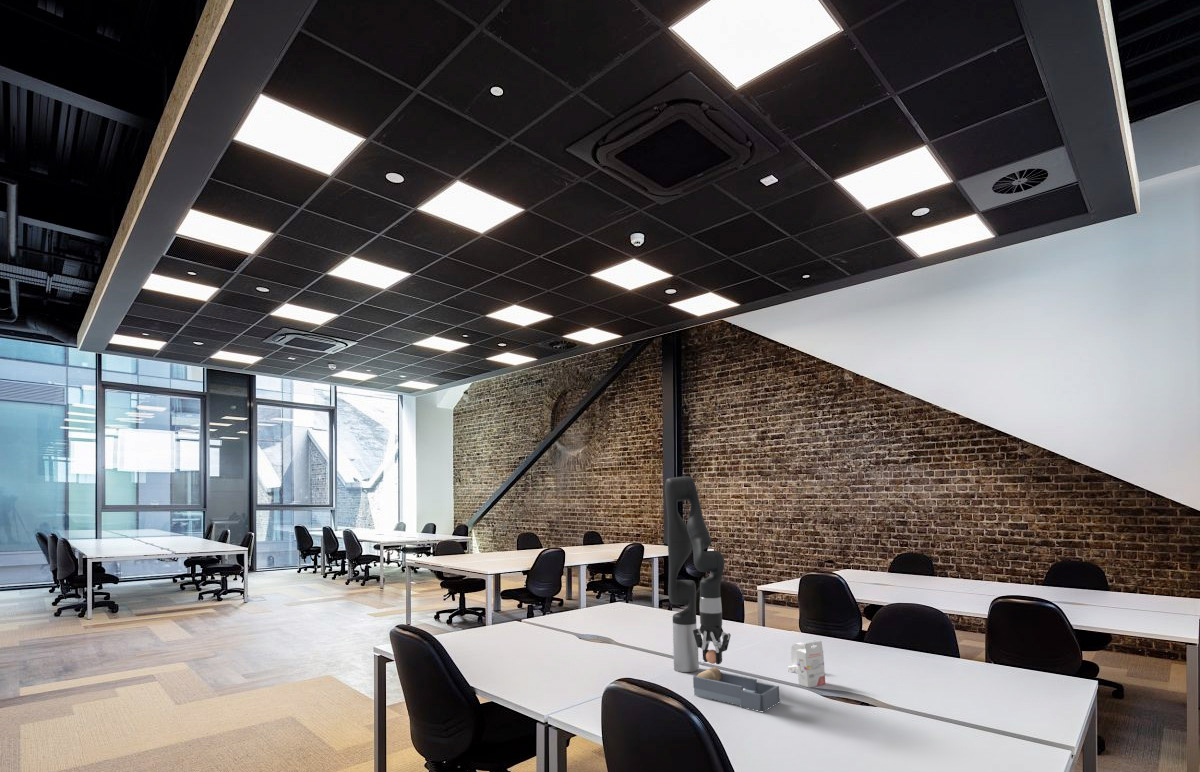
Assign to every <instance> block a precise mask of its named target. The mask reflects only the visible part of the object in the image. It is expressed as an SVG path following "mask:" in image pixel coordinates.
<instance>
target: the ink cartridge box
mask: <svg viewBox="0 0 1200 772" xmlns="http://www.w3.org/2000/svg"><path fill="white" fill-rule="evenodd" d="M804 644H805V648H806V649H800V650H796V651H797V666H798V674H797V678H798V685H799V686H802V687H806V688H808V689H810V688H814V687H818V686H823V685H826V673H825V657H824V650H823V649H824V648H823V642H822V640H819V641H813V642H807V643H804ZM812 646H813V647H812ZM814 646H815V647H814Z"/></svg>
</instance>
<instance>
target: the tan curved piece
mask: <svg viewBox="0 0 1200 772" xmlns="http://www.w3.org/2000/svg"><path fill="white" fill-rule="evenodd" d="M721 672H722V671H721V670H720V669H719V668H718V667H717V666H716V667H715V666H714V667H711V668H708V669H706V670H704V671H702V672H699V673H698V674H697V675H696V676H697V677H702V678H706V679H711V680H716V681H721V679H722V674H721Z"/></svg>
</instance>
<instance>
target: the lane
mask: <svg viewBox="0 0 1200 772" xmlns="http://www.w3.org/2000/svg"><path fill="white" fill-rule="evenodd" d="M721 674H722V679H721V681H716V680H711V679H706V678H702V677H697V675H694V676H692V680H693V682H692V683H693V687H692V688H693V692H694V696H695V695H696V696H697V697H699V696H700V698H704V699H709V700H712V699H714V700H713V701H716V700H719V701H718V702H721V701H724V702H723V703H725V702H729V703H733V704H737V705H741V706H740V708H741V707H745V708H749V709H754V710H758V711H765V710H767V709H768V708H770V707H772V706H773V705H775V704H777V703H778V702H780V703H781V700H780V686H779V685H774V684H769V683H765V682H759V681H758V680H757V678H753V677H748V676H743V675H737V674H733V673H727V672H723V671H721ZM729 703H728V704H729ZM733 704H732V705H733ZM778 704H779V703H778ZM778 704H777V705H778ZM737 705H736V706H737ZM775 706H776V705H775ZM773 707H774V706H773ZM773 707H772V708H773ZM745 708H744V709H745ZM749 709H748V710H749ZM770 709H771V708H770ZM758 711H757V712H758ZM767 711H768V710H767ZM765 712H766V711H765Z"/></svg>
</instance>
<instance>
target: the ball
mask: <svg viewBox="0 0 1200 772" xmlns="http://www.w3.org/2000/svg"><path fill="white" fill-rule="evenodd" d="M708 650H709V651H708V652H707V653H706V659H707V661H708V662H707V663H710V664H712V665H713V664H716V653H717V652H716V649H708Z"/></svg>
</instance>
